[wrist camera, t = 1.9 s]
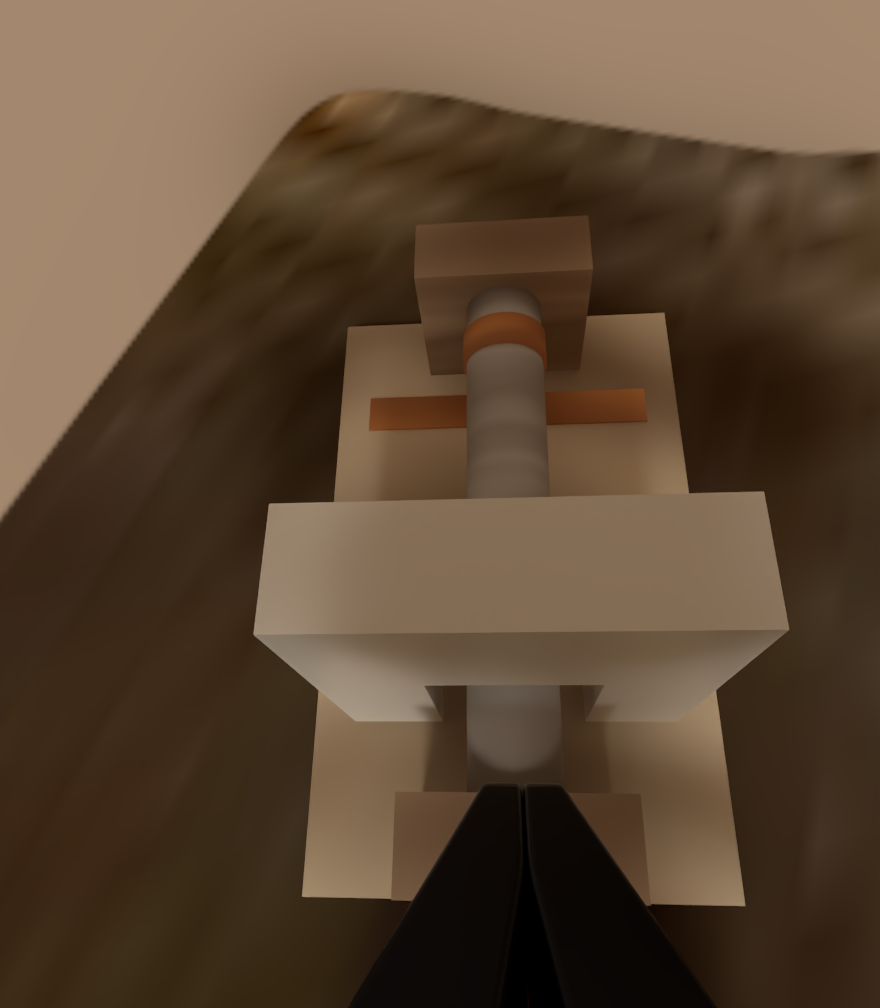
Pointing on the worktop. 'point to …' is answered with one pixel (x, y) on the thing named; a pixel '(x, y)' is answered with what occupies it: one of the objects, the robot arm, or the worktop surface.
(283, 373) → the worktop surface
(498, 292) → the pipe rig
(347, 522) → the sleeve
